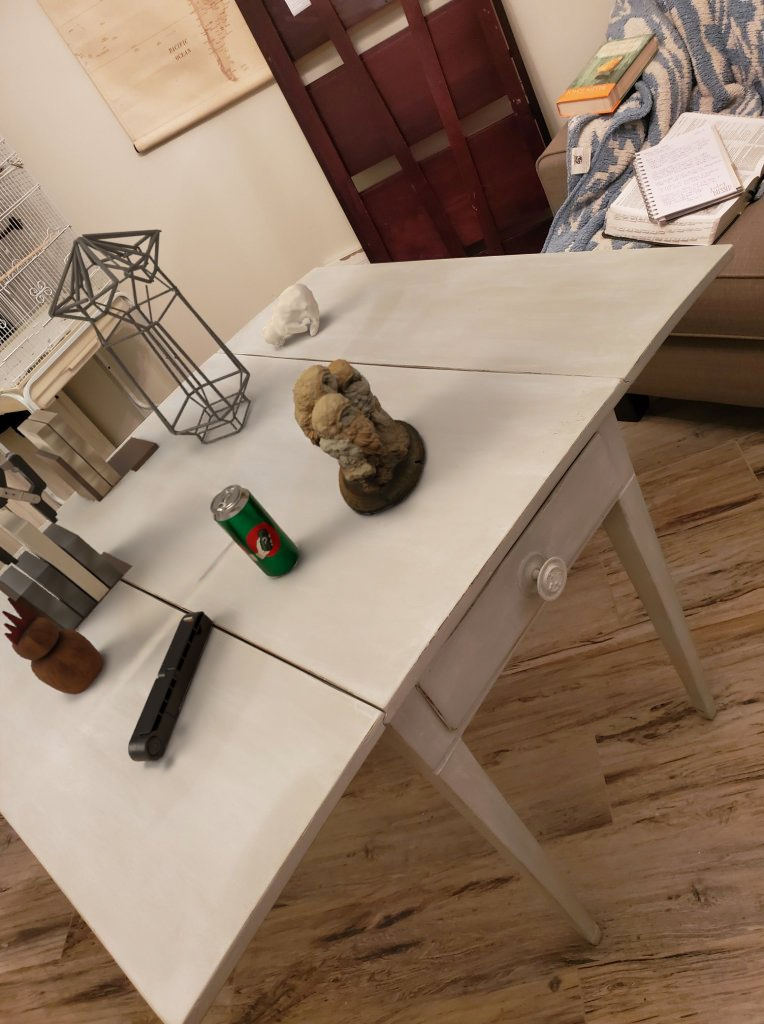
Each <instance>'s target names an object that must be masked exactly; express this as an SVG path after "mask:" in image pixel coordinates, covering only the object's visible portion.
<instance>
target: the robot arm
mask: <svg viewBox="0 0 764 1024" xmlns="http://www.w3.org/2000/svg"><path fill="white" fill-rule="evenodd" d="M6 471H9V472H11V473H14V474H16V473H19V474H20V476H21V477H22V478H24V480H25V481H26V482H27V483H28V484H29V485H30V487H29V489H28V490H25V489H24V490H23V489H19V488H16V487H11V486H8V483H7V477H6ZM47 484H48V483H47V482H46V481H45V480H44V479H43V478H42V477H41V476H40V475H39V474H38V473H37V471H35V470H34V469H33V467H31V465H29V463H28V462H27V461H26V460H25V459H24V458H23V457H22V456H21V455H20V454H18V453H14V452H11V451H8V452H7V453H6V454H5V458H4V459H3V460H1V461H0V510H1V509H3V508H4V507H5V506H7V505H8V504H9V500H14V501H19V502H24V503H25V502H26V503H29V505H30V506H31V507H32V508H33V509H35V511H37V512H38V513H39V514H40V515H41V516H43V517H44V518H45V519H46V520H47V521H49V522H50V523H54V524H57V522H59V519H58V518H57V516H58V512H57V511H56V509H54V508H53V507H52V506H51V505H50V504H49V503H47V501H45V500H44V499H43V497H42V495H43V493H44V491H45V490H46V489H47V487H48V485H47ZM0 562H1V563H2V564H4V565H6V566H11V564H12V565H13V566H15V565H16V564H17V563H18V562H19V561H18V560H17V558H16V557H15V556H14V555H12V554H11V553H9V552H8V551H7V550H6V549H5V548H3V547H2V546H1V545H0Z"/></svg>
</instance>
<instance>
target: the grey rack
mask: <svg viewBox="0 0 764 1024" xmlns="http://www.w3.org/2000/svg"><path fill="white" fill-rule="evenodd" d="M42 533H43V534H44V535H45V536H47V537H48V538H49V539H50V540H51V541H53V542H54V543H55V544H56V545H57V546H59V547H60V548H61V549H62V550H63V551H64V552H66V553H67V554H68V555H69V556H70V557H72V558H73V559H74V560H75V561H76V562H78V563H79V564H80V565H81V566H82V567H84V568H85V569H86V570H87V571H88V572H89V573H91V574H92V575H93V576H94V577H95V578H97V579H98V580H99V581H100V582H101V583H103V584H104V585H105V586H106V587H107V588H108V589H109V591H108V592H107V593H106V594H105V595H104V596H103V597H102V599H101V600H100V601H99V602H98V601H97V600H95V599H93V598H92V597H90V596H89V595H87V594H85V593H84V592H82V591H81V590H80V589H78V588H77V587H76V586H75V585H74V584H72V583H71V582H70V581H69V580H67V579H66V578H65V577H64V576H62V575H61V574H60V573H59V572H58V571H56V570H55V569H54V568H53V567H51V566H50V565H49V564H47V563H45V562H44V561H42V560H41V559H40V558H38V557H37V556H36V555H35V554H33V553H32V552H30V551H29V550H26V549H25V550H24V551H23V552H22V553H21V554H20V555H19V556H18V557H17V558H16V559H17V560H18V561H19V562H18V563H17V564H16V565H13V564H12V565H11V564H10V565H9V566H8V568H7V569H5V571H4V572H3V573H2V574H1V575H0V592H2V593H3V594H4V595H5V596H6V597H7V598H12V599H13V600H14V601H16V602H17V603H18V604H20V605H21V606H22V607H24V608H25V609H26V610H28V611H29V612H30V613H31V614H33V615H34V616H35V617H36V618H38V617H43V618H46V619H48V620H49V621H51V622H52V623H53V624H54V625H55V626H56V628H57V630H58V631H59V630H66V629H69V630H75V631H77V629H78V628H79V627H80V626H81V625H82V624H83V623H84V621H85V620H86V619H87V618H89V616H90V615H91V613H93V612H94V610H95V609H96V608H97V606H98V605H100V603H101V602H102V601H103V600H104V599H105V598H106V597H107V595H108V594H110V592H112V590H113V589H114V587H116V585H117V584H119V582H120V581H121V580H122V578H123V577H125V575H126V574H127V573H128V572H129V571H130V570H131V568H132V567H133V565H132V564H129V563H128V562H125V561H123V560H122V559H120V558H117V557H116V556H114V555H112V554H109V553H108V552H106V551H103V552H102V553H101V554H100V553H99V552H98V551H97V550H96V549H95V548H93V546H91V545H90V544H89V543H88V542H86V541H85V540H84V538H83V537H81V536H80V535H79V534H77V533H75V532H73V531H71V530H69V529H67V528H65V527H64V526H61V525H59V524H58V523H55V524H54V523H52V522H50V524H49V525H48V526H47V527H46V528H45V529H44V530H43V531H42ZM14 566H15V567H14ZM17 568H18V569H17Z"/></svg>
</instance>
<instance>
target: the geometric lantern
mask: <svg viewBox="0 0 764 1024" xmlns="http://www.w3.org/2000/svg"><path fill="white" fill-rule="evenodd" d="M162 232H163V231H162V229H156V228H155V229H144V230H143V229H141V230H129V231H128V230H127V231H126V230H125V231H112V232H97V233H83V234H81V236H78V237H76V238H75V239H73V241H72V247H71V250H70V252H69V255H68V257H67V261H66V263H65V266H64V269H63V271H62V274H61V277H60V280H59V282H58V284H57V288H56V290H55V293H54V296H53V298H52V301H51V304H50V307H49V308H48V312H47V314H48V316H49V317H50V319H53V318H61V319H67V320H68V319H69V320H75V321H83V322H89V324H90V325H91V327H92V328H93V329H94V332H95V334H96V336H97V338H98V341H99V343H100V346H101V347H102V349H104V350H105V351H106V352H107V353H108V355H109V356H110V357H111V358H112V360H113V361H114V362H115V363H116V364H117V366H118V367H119V368H120V370H121V371H122V372H123V373H124V375H125V376H126V377H127V378H128V379H129V380H130V382H131V383H132V384H133V386H134V387H135V388H136V389H137V390H138V391H139V393H140V394H141V396H142V397H143V399H144V400H145V401H146V403H147V404H148V405H149V406H150V408H151V409H152V410H153V412H154V413H155V414H156V416H157V417H158V419H159V420H160V421H161V423H162V424H163V425H164V427H165V428H166V429H167V430H168V432H169V433H170V434H171V435H173V436H174V437H175V436H196V438H197V439H198V441H200V444H202V445H208V444H211V443H214V442H217V441H219V440H222V439H225V438H227V437H230V436H232V435H233V436H234V435H235V434H239V433H240V432H241V430H242V429H243V428H244V426H245V423H246V420H247V416H248V414H249V410H250V406H251V403H252V400H251V399H249V397H248V396H247V395H246V394H245V393H246V390H247V387H248V384H249V381H250V378H251V373H250V371H249V370H248V369H247V367H245V365H243V363H242V362H241V361H240V360H239V358H237V356H236V355H235V354H234V353H233V352H232V350H231V349H229V347H228V346H227V345H226V343H224V341H223V340H222V339H221V338H220V337H219V336H218V335H217V334H216V332H214V330H213V329H212V328H211V327H210V325H209V324H208V323H207V322H206V321H205V320H204V319H203V318H202V316H201V315H200V314H199V313H198V312H197V311H196V310H195V308H194V307H193V306H192V305H191V303H190V302H189V301H188V300H187V298H186V297H185V296H184V295H183V294H182V292H181V290H180V289H179V288H178V286H177V285H175V283H173V281H172V280H171V279H170V278H169V276H168V275H166V274H165V273H164V271H163V270H162V269H161V268H160V266H159V251H160V234H161V233H162ZM131 237H132V238H133V237H142V238H140V239H139V240H138V241H136V242H135V243H134V244H133V245H132V244H125V243H121V242H120V243H119V242H113V241H107V240H110V239H120V238H131ZM148 239H149V241H148V245H147V248H146V251H145V252H143V250H142V249H141V247H140V246H141V245H142V244H144V242H146V241H147V240H148ZM153 247H154V256H152V255H151V252H152V249H153ZM80 248H81V249H80ZM91 249H93V250H95V251H97V252H99V253H100V254H102V256H104V257H105V258H102V259H101V258H99V256H97V255H96V254H95V253H94V251H93V250H91ZM81 250H82V251H83V253H84V254H85V255H86V257H87V258H88V260H89V263H91V264H90V265H89V266H88V267H86V264H85V262H84V259H83V256H82V252H81ZM133 255H134V256H139V257H140V258H138V260H136V261H135V263H133V262H132V260H131V259H130V257H131V256H133ZM153 257H154V258H153ZM115 260H116V261H115ZM149 260H150V262H151V263H152V264H153V270H152V272H151V271H150V270H148V268H147V266H148V265H149V264H150V263H149ZM117 261H118V262H121V263H122V264H125V265H127V266H128V267H127V266H121V265H120V264H118V263H117ZM108 262H111V263H113V264H110V263H108ZM94 266H96V267H99V268H100V269H101V270H102V271H103V273H104V274H106V276H107V277H108V278H109V279H110V280H111V281H112V283H111V284H109V285H108V286H106V287H105V288H103V289H102V290H101V291H99V292H98V293H97V294H94V291H93V286H92V282H91V277H90V273H89V270H90V269H91V268H92V267H94ZM70 268H71V269H70ZM111 269H114V270H119V271H122V272H123V276H124V277H123V278H121V280H120V279H119V278H118V277H117V276H116V275H115V274H114V273H113V272H112V271H111ZM69 270H70V273H71V274H70V285H69V287H70V289H69V295H68V296H67V297H66V298H64V299H63V300H62V301H60V302H59V299H60V296H61V293H62V289H63V287H64V283H65V281H66V278H67V275H68V273H69ZM139 270H141V271H142V273H144V275H145V276H146V277H147V278H145V277H141V276H138V275H135V273H134V272H135V271H136V272H137V271H139ZM157 273H159V275H160V276H161V277H162V278H163V279H164V280H165V281H166V282H167V283H168V284H169V285H168V284H167V283H165V282H164V281H163V280H162V279H161V278H159V277H157V276H156V275H157ZM128 279H130V282H131V288H132V296H133V297H132V298H133V303H134V305H132V307H130V308H129V309H128V310H124V309H120V308H117V307H115V306H112V303H113V301H114V297H115V295H116V292H117V289H118V286H119V284H122V283H123V282H125V281H126V280H128ZM155 279H156V280H157V281H158V282H159V283H160V284H162V285H163V286H165V288H167V289H166V290H165V291H161V292H160V293H157V294H155V295H154V296H151V297H150V294H149V287H148V284H152V283H154V282H155ZM135 281H138V282H141V283H145V286H144V287H145V294H146V299H144V300H142V301H141V302H138V297H137V295H138V294H137V287H136V282H135ZM80 290H82V292H83V293H84V294H85V296H86V297H85V298H82V299H81V291H80ZM108 292H110V294H109V296H108V300H107V302H106V304H104V303H102V302H98V301H97V300H99V299H100V298H101V297H103V296H104V295H106V294H107V293H108ZM171 292H174V294H173V295H172V298H171V299H170V300H169V302H168V303H167V305H166V307H165V308H164V310H163V311H162V312H161V314H160V315H159V317H158V318H157V320H153V314H152V307H151V302H152V301H153V300H155V299H157V298H159V297H162V296H163V295H167V294H168V293H171ZM177 297H178V298H179V299H180V301H181V302H182V303H183V304H184V305H185V306H186V308H188V310H189V311H190V312H191V314H193V315H194V317H195V318H196V319H197V320H198V322H199V323H200V325H202V327H203V328H204V329H205V331H207V333H208V334H209V335H210V337H211V338H212V339H213V340H214V341H215V343H216V344H217V345H218V346H219V348H220V349H221V351H223V352H224V354H225V355H226V356H227V358H228V359H229V360H230V361H231V363H232V365H234V366H235V367H236V369H237V370H235V371H232V372H230V373H227V374H224V375H223V376H222V375H221V376H219V377H217V378H215V379H212V380H210V379H209V377H207V376H206V374H205V373H204V372H203V371H202V370H201V369H200V367H199V366H198V365H197V364H196V363H195V362H194V361H193V359H192V358H191V357H190V356H189V355H188V354H187V353H186V352H185V350H184V349H183V348H182V347H181V346H180V345H179V343H178V342H177V341H176V340H175V339H174V338H173V337H172V335H170V333H169V332H168V331H167V330H166V328H164V326H163V325H162V324H161V323H160V322H161V321H162V319H163V318H164V316H165V315H166V313H167V312H168V310H169V309H170V307H171V305H172V304H173V303H174V301H175V300H176V298H177ZM71 300H72V301H73V302H72V303H70V304H67V303H69V302H70V301H71ZM58 302H59V303H58ZM86 303H87V304H86ZM146 303H147V307H148V314H149V318H148V316H147V315H146V314H145V312H143V310H141V308H140V307H141V306H142V305H144V304H146ZM66 304H67V305H66ZM83 304H86V305H84V306H82V305H83ZM92 306H94V308H96V309H97V310H98V311H99V312H101V313H100V314H98V315H96V316H95V317H91V316H90V314H89V313H88V311H87V310H89V309H90V308H91V307H92ZM100 306H101V307H104V310H103V308H101V307H100ZM139 306H140V307H139ZM111 309H112V310H113V311H117V312H120V313H123V314H122V315H119V314H117V313H114V312H112V311H110V310H111ZM135 310H136V311H137V312H138V313H139V315H140V316H141V318H142V319H143V320H144V321H145V322H146V323H147V324H148V325H147V326H146V325H145V324H141V323H139V322H137V321H136V320H135V319H134V317H133V316H132V314H131V313H133V312H134V311H135ZM74 313H81V314H82V315H83V316H80V315H73V314H74ZM107 315H108V316H110V317H113V318H115V319H118V321H117V323H116V324H115V326H114V327H113V328H112V330H111V331H110V333H108V336H106V338H105V337H104V335H103V334H102V332H101V331H100V330H99V328H98V327H97V325H96V323H97V322H99V321H100V320H101V319H103V318H104V317H106V316H107ZM126 316H127V317H126ZM122 321H123V322H125V323H128V324H130V325H133V326H134V327H135V329H136V330H137V332H134V333H132V334H130V335H127V336H125V337H122V338H120V339H117V340H116V341H113V342H111V343H108V342H109V341H110V339H111V337H112V336H113V334H114V333H115V332H116V330H117V329H118V327H119V326H120V325H121V323H122ZM156 327H157V328H159V330H160V331H161V332H160V331H159V330H158V329H157V328H156ZM151 329H152V331H153V332H154V333H155V334H156V335H157V337H158V338H159V339H160V340H161V342H162V343H163V344H164V346H165V347H166V348H167V349H168V350H169V352H170V353H171V354H172V355H173V356H174V358H175V359H176V360H177V361H178V362H179V364H180V365H181V366H182V367H183V369H184V370H185V371H186V372H187V374H188V375H189V376H190V377H191V378H192V380H193V381H194V382H195V383H196V385H197V387H196V386H195V385H194V384H193V382H192V381H191V380H190V379H189V377H188V376H187V375H186V374H185V372H184V371H183V370H182V369H181V367H180V366H179V365H178V364H177V362H176V361H175V360H174V359H173V357H172V356H171V355H170V354H169V353H168V352H167V350H166V349H165V348H164V346H163V345H162V344H161V343H160V342H159V340H158V339H157V338H156V337H155V336H154V334H153V333H152V332H151ZM161 333H162V334H164V336H165V337H166V338H167V340H169V341H170V343H171V344H172V345H173V346H174V347H175V348H176V349H177V350H178V352H179V353H180V355H182V356H183V357H184V359H186V361H187V362H188V363H189V364H190V365H191V366H192V368H193V369H194V370H195V371H196V372H197V373H198V374H199V376H200V377H201V378H202V379H203V380H204V382H205V383H201V382H200V380H198V378H197V377H196V376H195V375H194V373H193V372H192V371H191V370H190V368H189V367H188V366H187V364H186V363H185V362H184V361H183V360H182V358H181V357H180V356H179V355H178V353H177V352H176V351H175V350H174V349H173V347H172V346H171V345H170V344H169V343H168V341H167V340H166V339H165V337H164V336H163V335H162V334H161ZM139 335H141V337H142V338H143V339H144V341H145V342H146V343H147V344H148V346H149V347H150V349H151V350H152V351H153V353H154V354H155V355H156V357H157V358H158V359H159V361H160V362H161V363H162V365H163V366H164V368H165V369H166V370H167V372H168V373H169V374H170V375H171V377H172V378H173V379H174V381H175V383H177V385H178V386H179V388H180V389H181V390H182V392H183V393H184V394H185V396H186V397H185V399H184V401H183V403H182V404H181V407H180V408H179V410H178V413H177V414H176V417H175V418H174V420H173V422H172V424H171V423H170V422H169V421H168V419H167V418H166V417H165V415H163V413H162V412H161V410H159V408H158V407H157V405H156V404H155V403H154V402H153V401H152V400H151V398H150V397H149V396H148V394H147V393H146V392H145V391H144V389H143V388H142V387H141V385H140V384H139V383H138V381H137V380H136V379H135V377H134V376H133V375H132V373H131V372H130V370H129V369H128V368H127V367H126V365H125V364H124V363H123V362H122V360H121V359H120V357H119V356H118V355H117V353H116V352H115V351H114V349H113V348H112V346H115V345H117V344H120V343H122V342H124V341H127V340H129V339H132V338H134V337H136V336H139ZM147 335H148V336H149V337H150V339H151V340H152V341H153V343H154V344H155V345H156V347H157V348H158V349H159V350H160V351H161V352H162V354H163V355H164V356H165V358H166V359H167V360H168V361H169V363H170V364H171V365H172V366H173V367H174V368H175V370H176V371H177V372H178V373H179V375H180V376H181V377H182V378H183V380H184V381H185V382H186V383H187V384H188V386H189V387H190V389H192V390H191V391H190V392H188V391H187V389H186V387H185V386H184V385H183V383H182V382H181V380H180V379H179V377H178V376H177V375H176V374H175V372H174V371H173V370H172V369H171V367H170V366H169V365H168V363H167V362H166V360H165V359H164V358H163V356H162V355H161V354H160V352H159V351H158V350H157V348H156V347H155V345H154V344H153V343H152V342H151V340H150V339H149V337H148V336H147ZM238 374H239V389H238V390H237V392H233V393H232V394H230V395H226V396H224V395H223V394H222V392H221V391H220V390H219V389H218V388H217V387H216V386H215V384H216V383H218V382H221V381H224V380H225V379H228V378H231V377H234V376H236V375H238ZM243 374H245V377H244V379H243ZM208 386H210V388H211V389H212V390H213V391H214V392H215V394H216V395H217V396H218V397H219V398H220V399H217V400H216V401H214V402H211V403H210V402H209V400H208V397H207V395H206V392H205V390H204V388H205V387H208ZM200 391H201V392H200ZM194 394H195V395H196V396H197V397H198V398H199V400H200V401H201V402H202V403H203V404H201V403H200V402H199V401H197V399H195V398H194V397H193V395H194ZM233 397H234V399H233V401H232V403H231V402H230V401H229V400H228V399H230V398H233ZM189 400H191V401H193V402H194V403H195V404H196V405H198V406H199V407H201V408H202V411H201V414H200V416H199V419H198V421H197V425H195V426H192V427H187V428H186V429H182V430H176V429H175V427H176V426H177V424H178V422H179V420H180V418H181V416H182V414H183V412H184V410H185V408H186V406H187V404H188V403H189ZM221 402H223V403H224V404H225V405H226V406H225V407H222V408H220V409H217V410H215V409H214V407H213V406H214V405H216V404H219V403H221ZM244 403H247V406H246V409H245V412H244V416H243V418H242V422H241V421H240V419H239V418H238V416H237V415H238V412H239V409H240V406H241V404H244ZM235 407H236V408H235ZM225 410H226V411H225ZM208 411H209V412H210V413H211V414H210V413H209V412H208ZM223 411H225V412H224V413H223V414H222V415H221V417H220V416H219V413H221V412H223ZM231 412H232V414H231V415H232V418H231V419H230V420H229V419H226V418H227V417H228V415H230V413H231ZM205 414H206V415H207V417H208V420H207V422H204V423H202V420H203V418H204V415H205ZM213 417H214V418H215V419H213V420H212V418H213ZM234 421H236V423H238V425H239V428H238V427H237V426H236V425H235V424H234V423H233V422H234ZM221 422H223V423H221ZM218 423H220V424H218ZM214 424H215V426H212V427H210V426H211V425H214ZM216 424H217V425H216ZM229 424H230V426H231V427H232V428H233V429H234V430H235V431H232V432H229V433H227V434H224V435H221V436H218V437H216V438H215V437H214V438H213V439H210V440H207V441H206V440H205V438H206V435H207V433H208V432H210V431H214V430H216V429H218V428H222V427H223V426H227V425H229ZM203 428H205V429H204V430H202V431H199V430H200V429H203ZM193 431H194V432H193ZM198 431H199V432H198ZM201 435H202V436H201Z"/></svg>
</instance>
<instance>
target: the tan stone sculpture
mask: <svg viewBox="0 0 764 1024" xmlns="http://www.w3.org/2000/svg"><path fill="white" fill-rule="evenodd" d="M292 392H293V393H292V394H293V398H292V399H293V404H294V414H293V415H294V420H295V421H296V423H297V425H298V427H299V428H300V430H301V431H302V433H303V435H304V436H305V437H306V438H307V439H308V440H310V443H311V444H312V445H313V446H316V447H318V448H320V450H322V452H323V453H325V454H327V455H329V456H330V457H331V458H333V459H336V460H337V463H338V465H339V470H338V486H339V487H338V488H339V491H340V494H341V497H342V499H343V500H344V502H345V504H346V505H347V506H348V507H349V508H350V509H351V510H352V511H354V512H356V513H358V514H360V515H365V514H368V515H373V514H374V515H375V513H379V512H381V511H384V510H386V509H387V508H389V507H392V506H396V505H397V504H399V503H401V502H402V501H404V500H405V499H406V498H407V497H408V496H409V495H410V494H411V493H412V492H413V491H414V489H415V488H416V487H417V485H418V483H419V481H420V478H421V474H422V473H423V470H424V467H423V465H424V463H425V461H426V449H425V444H424V440H423V438H422V436H421V435H420V433H419V431H418V430H417V429H416V428H415V427H414V425H412V424H411V423H409V422H407V421H405V420H400V419H394V418H393V417H391V415H390V414H389V413H388V412H387V411H386V410H385V409H384V408H383V407H382V405H381V402H380V400H379V398H378V397H377V395H376V394H373V392H372V391H371V384H370V383H369V380H368V379H367V378H366V377H365V376H364V375H363V374H362V373H361V372H360V371H359V370H358V369H357V368H356V367H354V366H353V365H351V363H349V361H348V360H347V359H343V358H338V359H336V360H333V361H331V362H330V363H329V364H328V365H327V366H325V365H323V364H312V365H310V366H309V367H308V368H307V369H305V370H304V371H303V372H302V373H301V374H300V376H299V377H298V379H297V380H296V382H295V383H294V385H293V388H292ZM418 461H420V462H418ZM415 462H416V463H415ZM418 480H419V481H418ZM417 482H418V483H417ZM416 484H417V485H416ZM414 487H415V488H414ZM413 488H414V489H413ZM412 490H413V491H412ZM411 491H412V492H411ZM410 492H411V493H410ZM409 493H410V494H409ZM408 494H409V495H408ZM406 496H407V497H406ZM405 497H406V498H405ZM404 498H405V499H404ZM403 499H404V500H403Z"/></svg>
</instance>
